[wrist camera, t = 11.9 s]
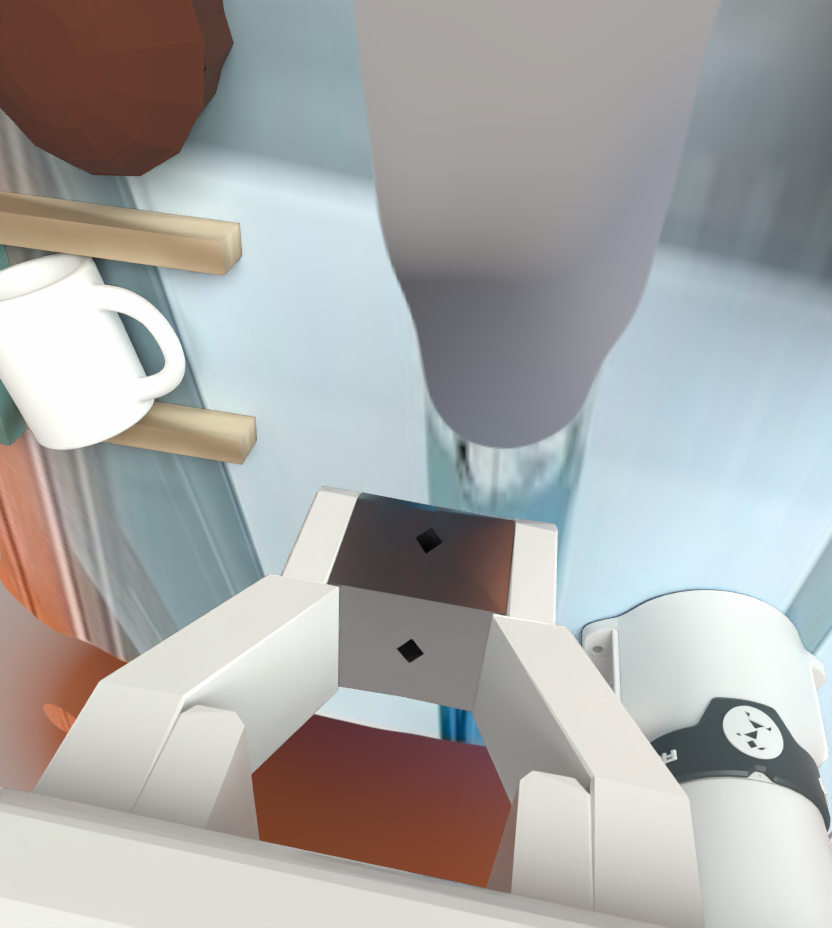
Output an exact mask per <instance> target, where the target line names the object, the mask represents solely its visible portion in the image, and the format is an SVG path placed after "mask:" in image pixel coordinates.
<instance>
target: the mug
mask: <svg viewBox="0 0 832 928" xmlns="http://www.w3.org/2000/svg"><path fill="white" fill-rule="evenodd" d="M118 312H120V313H123V314H126V315H129V316H131V317H133V318H135V319H136V320H138V321H139V322H141V323H142V324H143V325H144V326H145V327H146V328H147V329H148V330H149V331H150V332H151V333H152V335H153V336H154V338H155V339H156V341H157V342H158V344H159V346H160V348H161V350H162V352H163V354H164V357H165V366H164V368H163V370H162V371H160V372H159V373H157V374H154V375H152V376H148V377H147V376H146V373H145V371H144V369H143V367H142V365H141V363H140V360H139V358H138V356H137V354H136V352H135V349H134V347H133V345H132V343H131V341H130V339H129V336H128V334H127V332H126V330H125V328H124V326H123V323H122V321H121V319H120V317H119V315H118ZM184 373H185V357H184V353H183V350H182V347H181V344H180V342H179V340H178V337H177V335H176V334H175V332H174V330H173V329H172V327H171V325H170V324H169V323H168V321H167V320H166V319H165V317H164V316H163V315H162V314H161V313H160V312H159V311H158V310H157V309H156V308H155V307H154V306H153V305H152V304H151V303H149V302H148V301H147V300H145V299H144V298H143V297H141V296H139V295H138V294H136V293H134V292H132V291H129V290H127V289H124V288H121V287H117V286H111V285H105V284H104V282H103V280H102V278H101V275H100V273H99V271H98V269H97V267H96V265H95V262H94V260H93V258H92V257H90V256H82V255H75V254H68V253H59V254H53V255H47V256H43V257H39V258H35V259H31V260H28V261H25V262H22V263H19V264H16V265H13V266H10V267H8V268H5V269H3V270H0V379H1V380H2V382H3V384H4V386H5V387H6V389H7V391H8V392H9V394H10V396H11V397H12V399H13V401H14V402H15V404H16V406H17V407H18V409H19V411H20V413H21V414H22V416H23V418H24V419H25V421H26V423H27V424H28V426H29V428H30V429H31V431H32V433H33V434H34V436H35V438H36V440H37V441H38V442H39V443H40V444H41V445H42V446H44V447H46V448H50V449H55V450H69V449H77V448H82V447H86V446H90V445H93V444H96V443H99V442H102V441H104V440H107V439H109V438H111V437H114V436H116V435H118V434H120V433H121V432H123V431H125V430H127V429H128V428H130V427H131V426H133V425H134V424H135V423H137V422H138V421H139V420H140V419H142V418H143V417H144V416H145V415H146V414H147V412H148V411H149V410H150V408H151V407H152V405H153V402H154V399H155V398H158V397H161V396H164V395H166V394H168V393H169V392H171V391H172V390H174V389H175V388H176V387H177V386H178V385H179V384H180V382H181V381H182V379H183V376H184Z"/></svg>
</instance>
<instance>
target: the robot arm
mask: <svg viewBox="0 0 832 928" xmlns="http://www.w3.org/2000/svg"><path fill="white" fill-rule="evenodd" d="M557 534H558V530H557V528H556V526H555V524H551V523H545V522H538V521H531V520H524V519H517V518H516V519H515V520H514V519H513V518H507V517H500V516H494V515H488V514H481V513H475V512H469V511H463V510H456V509H450V508H444V507H437V506H432V505H426V504H421V503H416V502H411V501H405V500H400V499H395V498H389V497H384V496H379V495H374V494H368V493H363V492H362V493H358V492H354V491H348V490H343V489H338V488H333V487H327V486H323V487H322V488H321V489H320V490H319V491H318V492H317V493H316V495H315V497H314V500H313V502H312V504H311V507H310V509H309V511H308V513H307V516H306V518H305V520H304V523H303V525H302V527H301V530H300V532H299V534H298V537H297V539H296V541H295V543H294V546H293V548H292V550H291V553H290V555H289V557H288V560H287V562H286V564H285V567H284V569H283V571H282V573H281V576H277V575H271V574H268V575H267V576H265V577H264V578H262V579H260V580H259V581H257V582H256V583H254V584H252V585H251V586H249V587H248V588H246V589H245V590H243V591H241V592H240V593H238V594H237V595H235V596H233V597H232V598H230V599H229V600H227V601H226V602H224V603H222V604H221V605H219V606H218V607H216V608H215V609H213V610H211V611H210V612H208V613H207V614H205V615H203V616H202V617H200V618H199V619H197V620H196V621H194V622H192V623H191V624H189V625H188V626H186V627H185V628H183V629H181V630H180V631H178V632H177V633H175V634H173V635H172V636H170V637H169V638H167V639H166V640H164V641H162V642H161V643H159V644H158V645H156V646H155V647H153V648H151V649H150V650H148V651H147V652H145V653H143V654H142V655H140V656H139V657H137V658H136V659H134V660H132V661H131V662H129V663H128V664H126V665H125V666H123V667H122V668H120V669H118V670H117V671H115V672H113V673H112V674H110V675H109V676H107V677H106V678H104V679H102V680H101V681H99V683H98V685H97V686H96V688H95V690H94V691H93V693H92V695H91V696H90V698H89V699H88V701H87V703H86V704H85V706H84V708H83V709H82V711H81V713H80V714H79V716H78V717H77V719H76V721H75V722H74V724H73V726H72V727H71V729H70V731H69V732H68V734H67V736H66V737H65V739H64V741H63V742H62V744H61V745H60V747H59V749H58V750H57V752H56V754H55V755H54V757H53V759H52V760H51V762H50V763H49V765H48V767H47V768H46V770H45V772H44V773H43V775H42V777H41V778H40V780H39V782H38V783H37V785H36V787H35V788H34V790H33V791H32V793H31V792H27V791H22V790H17V789H12V788H8V787H2V786H0V928H832V849H831V845H830V842H829V838H828V834H827V832H828V830H829V827H830V815H829V811H828V798H827V794H826V790H825V786H824V784H823V783H822V780H821V778H820V774H819V771H818V768H819V767H820V765H821V764H822V762H823V761H825V760H826V759H827V755H828V750H827V744H826V739H825V733H824V728H823V723H822V718H821V713H820V708H819V703H818V698H817V693H816V691H817V690H818V689H819V688H820V687H821V686H822V685H823V684H824V683H825V682H826V680H827V677H826V671H825V667H824V665H823V664H822V662H821V661H820V660H818V659H817V658H816V657H815V656H813V655H812V654H811V653H809V652H808V651H807V650H806V649H805V648H804V647H803V645H802V643H801V640H800V637H799V635H798V632H797V630H796V628H795V627H794V625H793V624H792V623H791V621H790V620H789V619H788V618H787V617H786V616H785V615H784V614H782V613H781V612H780V611H779V610H777V609H776V608H774V607H772V606H771V605H769V604H767V603H765V602H763V601H760V600H758V599H755V598H753V597H749V596H746V595H742V594H738V593H733V592H726V591H717V590H694V591H685V592H678V593H673V594H669V595H665V596H662V597H658V598H655V599H653V600H650V601H648V602H646V603H644V604H642V605H640V606H638V607H636V608H635V609H633V610H631V611H629V612H628V613H626V614H624V615H621V616H619V617H615V618H610V619H605V620H601V621H597V622H594V623H591V624H589V625H587V626H586V627H584V629H583V632H582V647H581V645H580V644H579V643H578V641H577V640H576V638H575V637H574V635H573V634H572V633H571V631H570V630H569V628H568V627H563V626H558V625H555V618H556V576H557ZM338 686H340V687H346V688H352V689H358V690H365V691H371V692H377V693H383V694H389V695H395V696H402V697H407V698H412V699H416V700H421V701H425V702H430V703H435V704H439V705H444V706H448V707H453V708H458V709H462V710H467V711H471V712H473V714H472V715H473V718H474V720H475V722H476V725H477V727H478V729H479V731H480V734H481V736H482V738H483V741H484V743H485V745H486V747H487V750H488V752H489V754H490V757H491V759H492V761H493V763H494V766H495V768H496V770H497V772H498V775H499V777H500V779H501V782H502V784H503V786H504V789H505V791H506V793H507V795H508V797H509V799H510V802H511V805H512V807H511V811H510V814H509V817H508V820H507V824H506V827H505V830H504V833H503V837H502V840H501V843H500V846H499V849H498V853H497V856H496V859H495V862H494V866H493V869H492V872H491V875H490V879H489V882H488V885H487V888H481V887H476V886H472V885H467V884H463V883H458V882H453V881H448V880H444V879H439V878H434V877H430V876H425V875H420V874H415V873H410V872H406V871H401V870H396V869H392V868H387V867H382V866H377V865H372V864H368V863H363V862H358V861H354V860H349V859H344V858H340V857H335V856H330V855H325V854H321V853H316V852H311V851H306V850H302V849H297V848H291V847H287V846H282V845H277V844H273V843H268V842H264V841H259V834H258V826H257V818H256V810H255V803H254V796H253V787H252V779H251V774H252V773H253V772H254V771H255V770H256V769H257V768H258V767H259V766H260V765H261V764H262V763H263V762H264V761H265V760H266V759H268V758H269V757H270V756H271V755H272V754H273V753H274V752H275V751H276V750H277V749H278V748H279V747H280V746H281V745H282V744H283V743H284V742H285V741H286V740H287V739H288V738H289V737H290V736H291V735H292V734H293V733H294V732H295V731H297V730H298V728H300V727H301V726H302V725H303V724H304V723H305V722H306V721H307V720H308V719H309V718H310V717H311V716H312V715H313V714H314V713H315V712H316V711H317V710H318V709H319V708H320V707H321V706H322V705H324V704H325V703H326V702H327V701H328V700H329V699H330V698H331V697H332V696H333V695H334V694H335V693H336V692H337V691H338Z"/></svg>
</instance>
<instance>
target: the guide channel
mask: <svg viewBox="0 0 832 928" xmlns="http://www.w3.org/2000/svg"><path fill="white" fill-rule="evenodd" d="M4 245H11V246H19V247H26V248H33V249H40V250H47V251H54V252H61V253H68V254H75V255H82V256H90V257H97V258H104V259H111V260H118V261H125V262H132V263H139V264H146V265H153V266H161V267H168V268H175V269H182V270H189V271H196V272H203V273H210V274H217V275H225V274H226V273H227V271H228V270H229V269H230V268H231V267H232V266H233V265H234V264H235V263H236V262H237V261H238V259H239V258H240V257H241V256H242V248H241V236H240V223H234V222H226V221H219V220H211V219H204V218H196V217H189V216H182V215H174V214H167V213H159V212H152V211H144V210H137V209H129V208H122V207H114V206H107V205H99V204H92V203H85V202H77V201H70V200H62V199H55V198H47V197H40V196H32V195H25V194H17V193H10V192H2V191H0V270H3V269H5V268H8V267H10V264H9V261H8V257H7V254H6V250H5V247H4ZM27 429H29V430H31V429H30V428H29V426H28V424H27V423H26V421H25V419H24V418H23V416H22V414H21V413H20V411H19V409H18V407H17V406H16V404H15V402H14V401H13V399H12V397H11V396H10V394H9V392H8V391H7V389H6V387H5V386H4V384H3V382H2V380H1V379H0V444H4V445H11V444H12V443H13V442H14V441H15V440H16V439H17V438H19V437H20V436H21V435H22V434H23V433H24V432H25V431H26V430H27ZM256 440H257V436H256V423H255V417H251V416H245V415H239V414H232V413H226V412H220V411H213V410H207V409H201V408H194V407H188V406H182V405H175V404H169V403H163V402H156V401H154V402H153V405H152V407H151V408H150V410H149V411H148V412H147V414H146V415H145V416H144V417H143V418H142V419H140V420H139V421H138V422H137V423H135V424H134V425H133V426H131V427H130V428H128V429H127V430H125V431H123V432H121V433H120V434H118V435H116V436H114V437H111V438H109V439H107V440H104V441H102V442H108V443H114V444H120V445H126V446H132V447H138V448H144V449H151V450H157V451H163V452H169V453H175V454H181V455H187V456H193V457H199V458H205V459H211V460H218V461H224V462H230V463H236V464H243V463H244V461H245V459H246V457H247V456H248V454H249V452H250V451H251V449H252V447H253V445H254V444H255V442H256Z"/></svg>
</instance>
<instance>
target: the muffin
mask: <svg viewBox="0 0 832 928" xmlns="http://www.w3.org/2000/svg"><path fill="white" fill-rule="evenodd" d="M232 45H233V40H232V37H231V33H230V30H229V27H228V23H227V20H226V17H225V13H224V8H223V1H222V0H0V108H1V109H2V110H3V111H4V112H5V113H6V114H7V115H8V116H9V117H10V119H11V120H12V121H13V122H14V123H15V124H16V125H17V126H18V127H19V128H20V129H21V131H22V132H23V133H24V134H25V135H26V136H27V137H28V138H29V139H30V140H31V141H32V142H33V144H34V145H35V146H37V147H39V148H41V149H43V150H45V151H47V152H48V153H50V154H52V155H54V156H56V157H58V158H60V159H62V160H64V161H66V162H68V163H69V164H71V165H73V166H75V167H77V168H79V169H82V170H84V171H86V172H88V173H90V174H92V175H116V176H141V175H143V174H145V173H146V172H148V171H150V170H151V169H153V168H155V167H156V166H158V165H160V164H161V163H163V162H165V161H166V160H168V159H170V158H171V157H173V156H175V155H176V154H178V153H179V152H180V150H181V148H182V146H183V144H184V142H185V140H186V138H187V136H188V134H189V132H190V130H191V128H192V126H193V124H194V122H195V120H196V118H197V117H198V115H199V114H200V113H201V112H202V110H203V109H204V108H205V106H206V105H207V104H208V102H209V101H210V100H211V98H212V97H213V96H214V95H215V93H216V90H217V86H218V82H219V77H220V73H221V69H222V66H223V64H224V62H225V60H226V58H227V56H228V53H229V51H230V49H231V47H232Z"/></svg>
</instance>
